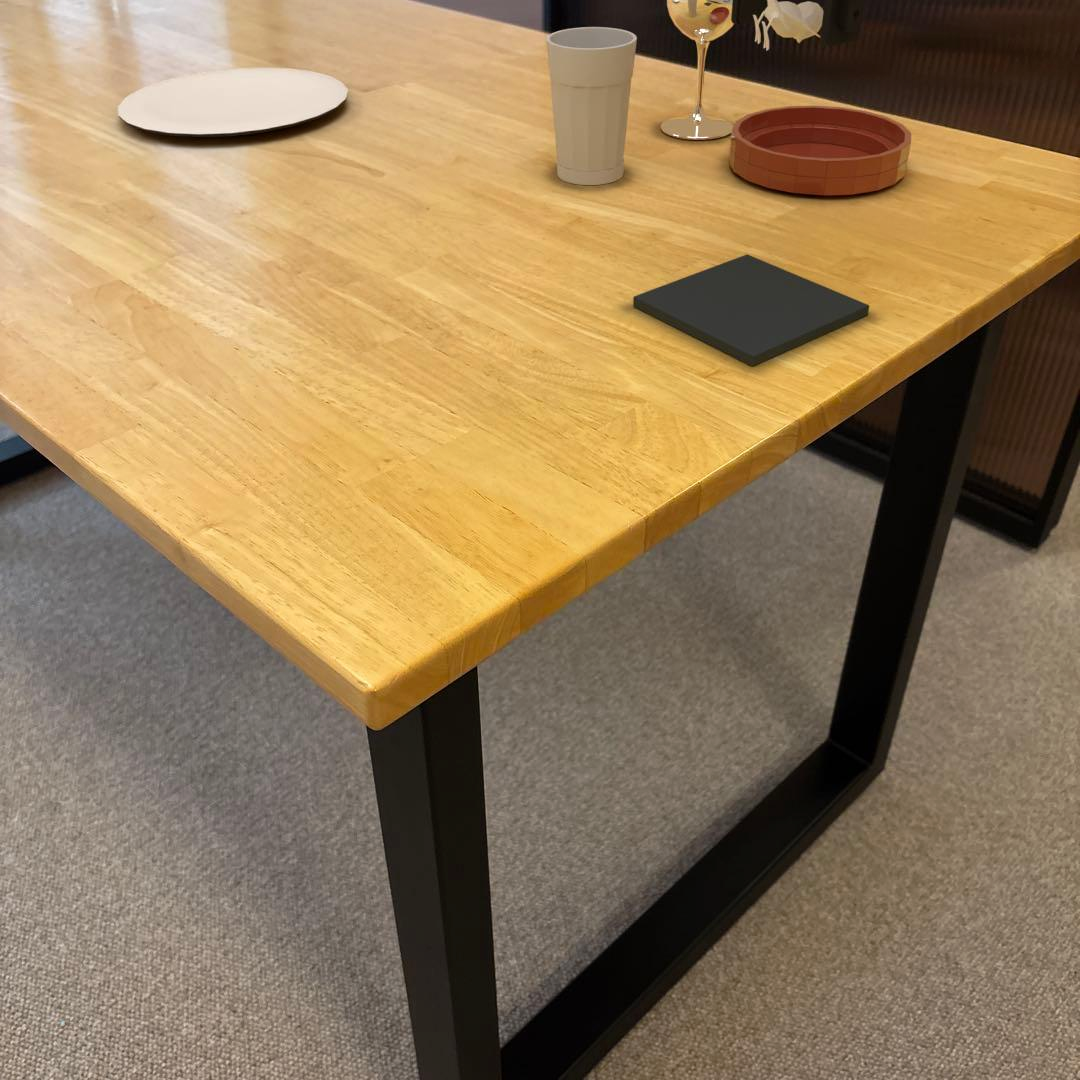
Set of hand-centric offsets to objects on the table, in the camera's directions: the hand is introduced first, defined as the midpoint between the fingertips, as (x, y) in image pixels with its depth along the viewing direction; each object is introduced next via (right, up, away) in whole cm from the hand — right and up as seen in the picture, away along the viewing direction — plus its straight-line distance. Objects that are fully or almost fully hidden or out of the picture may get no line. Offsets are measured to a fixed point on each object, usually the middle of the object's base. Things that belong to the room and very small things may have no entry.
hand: (793, 29), depth 72 cm
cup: (-12, 0, +30) cm, 33 cm away
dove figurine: (0, -1, +1) cm, 1 cm away
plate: (-51, +13, +48) cm, 71 cm away
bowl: (+9, +1, +30) cm, 32 cm away
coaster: (-2, -17, +7) cm, 19 cm away
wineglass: (-1, +8, +40) cm, 41 cm away
